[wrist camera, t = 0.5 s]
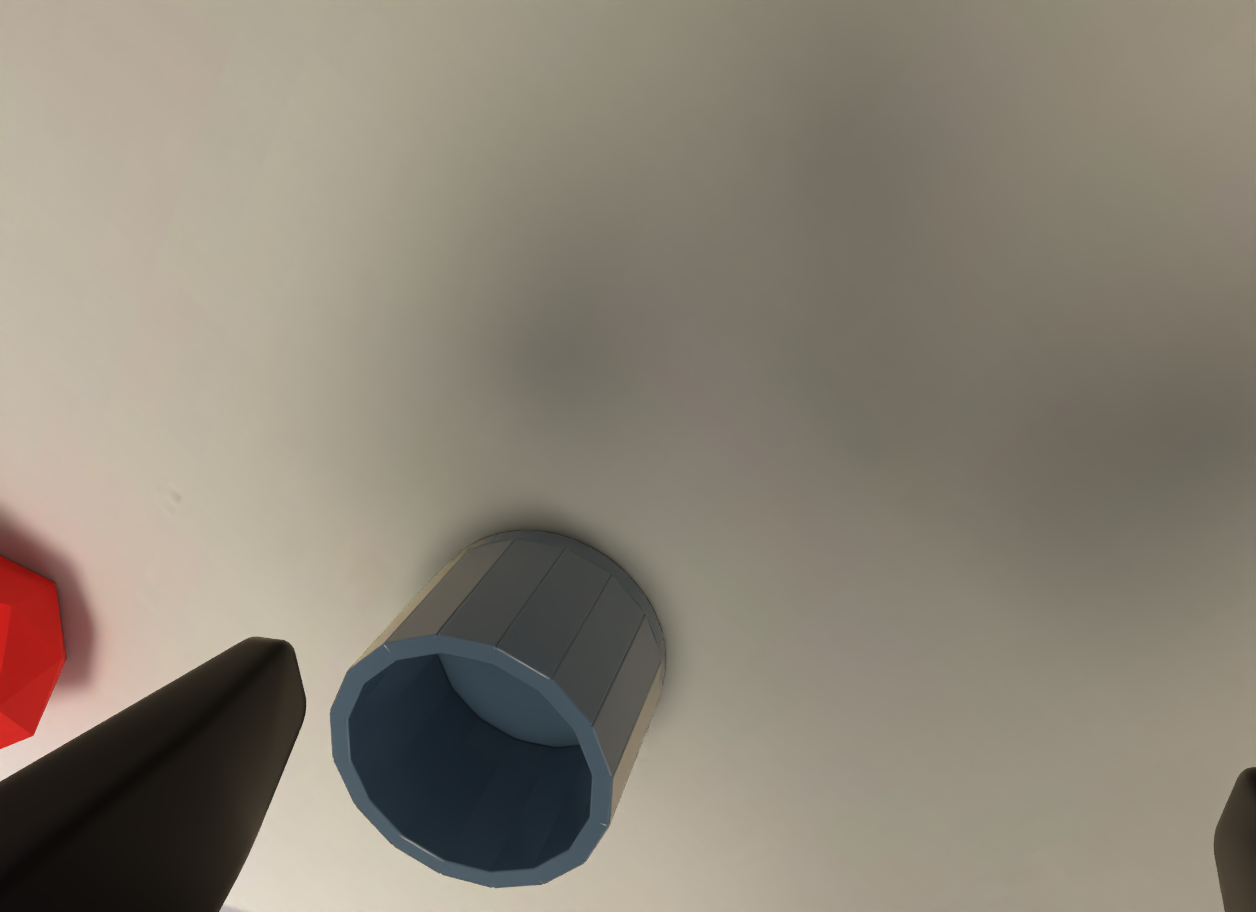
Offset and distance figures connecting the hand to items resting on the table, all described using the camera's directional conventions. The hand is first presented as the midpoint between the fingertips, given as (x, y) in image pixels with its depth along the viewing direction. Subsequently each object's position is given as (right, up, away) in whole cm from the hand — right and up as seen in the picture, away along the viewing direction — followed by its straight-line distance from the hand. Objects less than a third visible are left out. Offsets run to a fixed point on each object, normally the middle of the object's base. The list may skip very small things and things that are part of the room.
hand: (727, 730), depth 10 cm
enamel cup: (-3, -2, +16) cm, 16 cm away
